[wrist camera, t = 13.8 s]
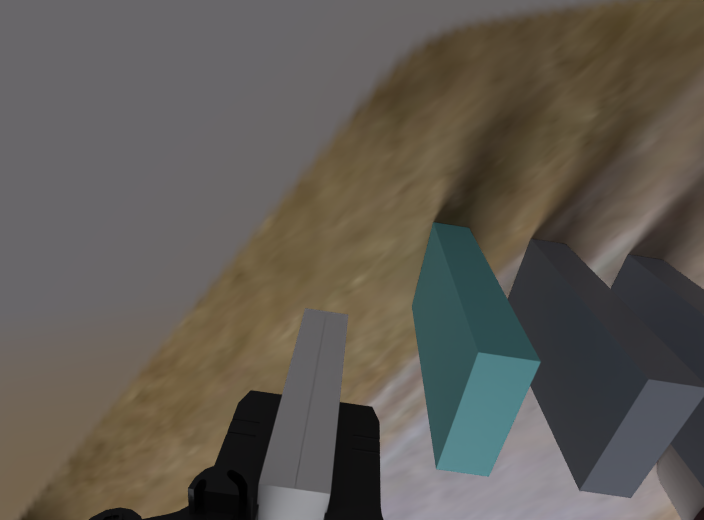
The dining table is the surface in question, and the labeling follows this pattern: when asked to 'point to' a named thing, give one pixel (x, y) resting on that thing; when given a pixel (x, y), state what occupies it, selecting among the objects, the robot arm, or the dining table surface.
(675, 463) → the coffee cup
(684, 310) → the domino
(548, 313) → the domino
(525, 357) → the domino
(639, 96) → the dining table surface
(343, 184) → the dining table surface
